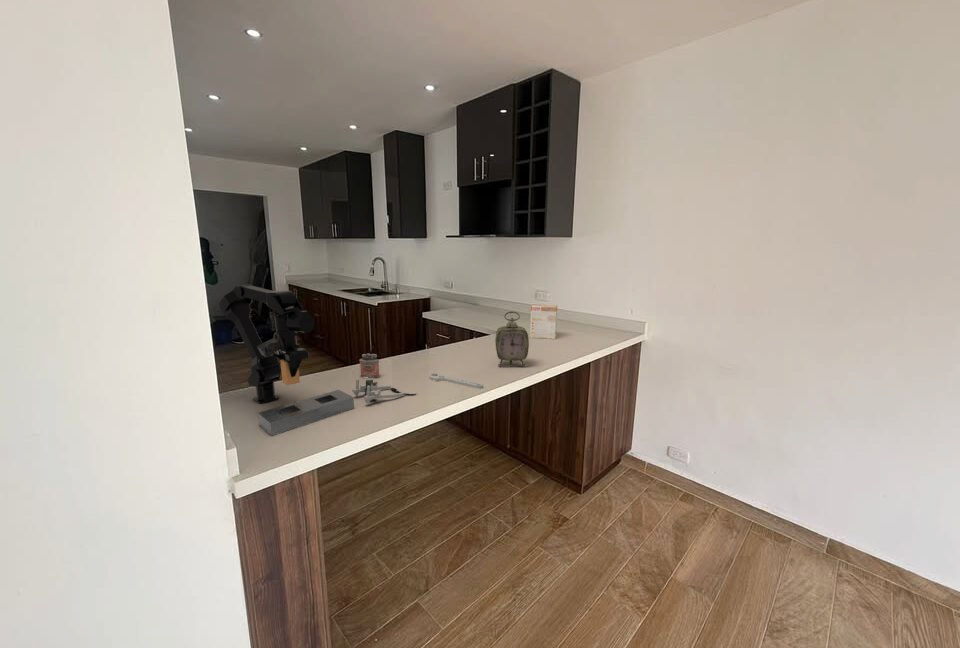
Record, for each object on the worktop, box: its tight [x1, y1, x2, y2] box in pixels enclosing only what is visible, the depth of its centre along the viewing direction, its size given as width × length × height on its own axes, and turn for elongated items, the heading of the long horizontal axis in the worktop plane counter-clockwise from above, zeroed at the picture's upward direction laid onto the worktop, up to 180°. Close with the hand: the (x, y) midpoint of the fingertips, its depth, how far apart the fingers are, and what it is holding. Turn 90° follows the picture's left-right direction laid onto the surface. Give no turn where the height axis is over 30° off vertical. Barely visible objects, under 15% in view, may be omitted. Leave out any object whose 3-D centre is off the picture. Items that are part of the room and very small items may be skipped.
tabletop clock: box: [494, 311, 530, 368], centre depth 174 cm, size 14×9×25 cm, turn 91°
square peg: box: [279, 359, 301, 386], centre depth 128 cm, size 4×4×8 cm
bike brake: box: [352, 378, 417, 404], centre depth 140 cm, size 14×7×20 cm
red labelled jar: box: [359, 353, 381, 379], centre depth 159 cm, size 8×3×10 cm, turn 83°
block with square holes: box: [257, 389, 355, 436], centre depth 123 cm, size 10×26×4 cm, turn 138°
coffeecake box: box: [529, 303, 558, 340], centre depth 229 cm, size 15×7×20 cm, turn 74°
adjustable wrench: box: [428, 372, 484, 390], centre depth 154 cm, size 25×6×2 cm, turn 54°
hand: (290, 375), depth 129 cm, fingers closed on square peg, 4 cm apart
